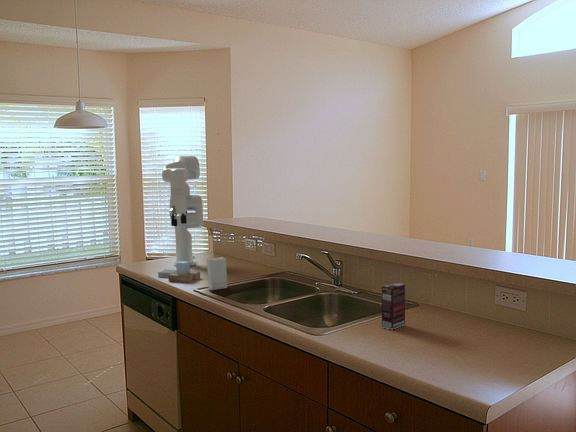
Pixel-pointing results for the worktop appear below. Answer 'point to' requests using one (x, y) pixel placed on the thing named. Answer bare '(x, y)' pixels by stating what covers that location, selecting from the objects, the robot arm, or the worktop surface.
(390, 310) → the supplement box
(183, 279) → the walnut slab
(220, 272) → the skincare box
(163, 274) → the slate coaster
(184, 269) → the blue block
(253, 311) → the worktop surface
